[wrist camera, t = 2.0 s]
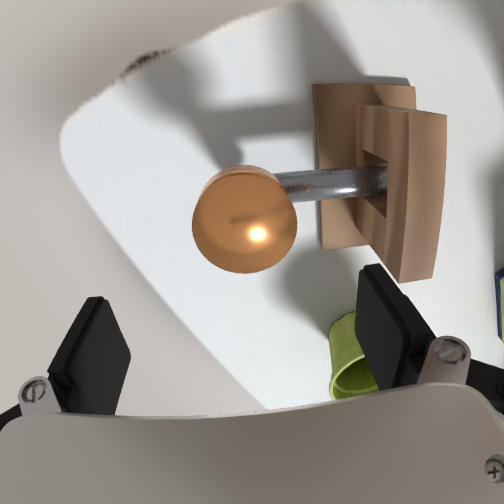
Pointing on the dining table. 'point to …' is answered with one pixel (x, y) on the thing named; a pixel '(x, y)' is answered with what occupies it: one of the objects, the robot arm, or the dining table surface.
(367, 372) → the plant pot
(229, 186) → the hook rod
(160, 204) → the dining table surface
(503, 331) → the protein box
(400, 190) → the eye block
